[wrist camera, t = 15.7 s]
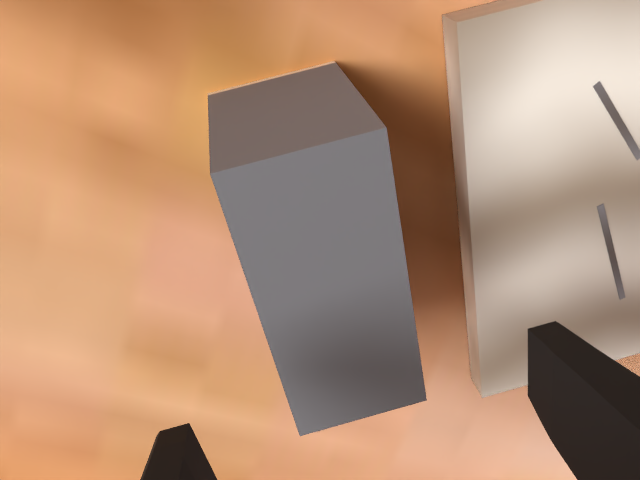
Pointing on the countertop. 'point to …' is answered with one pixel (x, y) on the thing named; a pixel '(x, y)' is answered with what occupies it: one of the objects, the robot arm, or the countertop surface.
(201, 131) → the countertop surface
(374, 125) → the block
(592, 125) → the ash board
